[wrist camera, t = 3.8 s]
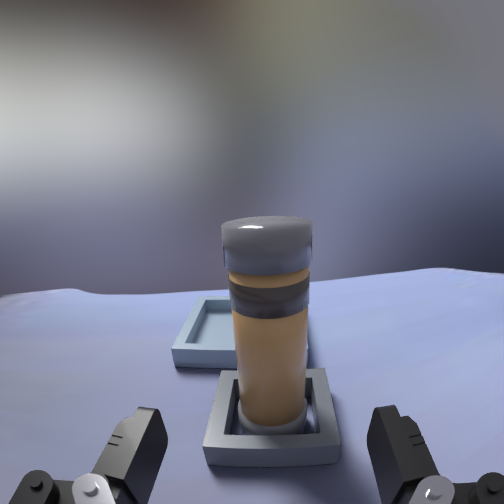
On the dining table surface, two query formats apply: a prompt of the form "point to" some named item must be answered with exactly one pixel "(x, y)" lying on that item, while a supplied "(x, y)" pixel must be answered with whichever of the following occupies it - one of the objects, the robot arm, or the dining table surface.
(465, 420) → the dining table surface
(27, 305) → the dining table surface
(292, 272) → the grey capped cylinder
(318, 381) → the socket block
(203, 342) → the parts tray
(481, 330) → the dining table surface
